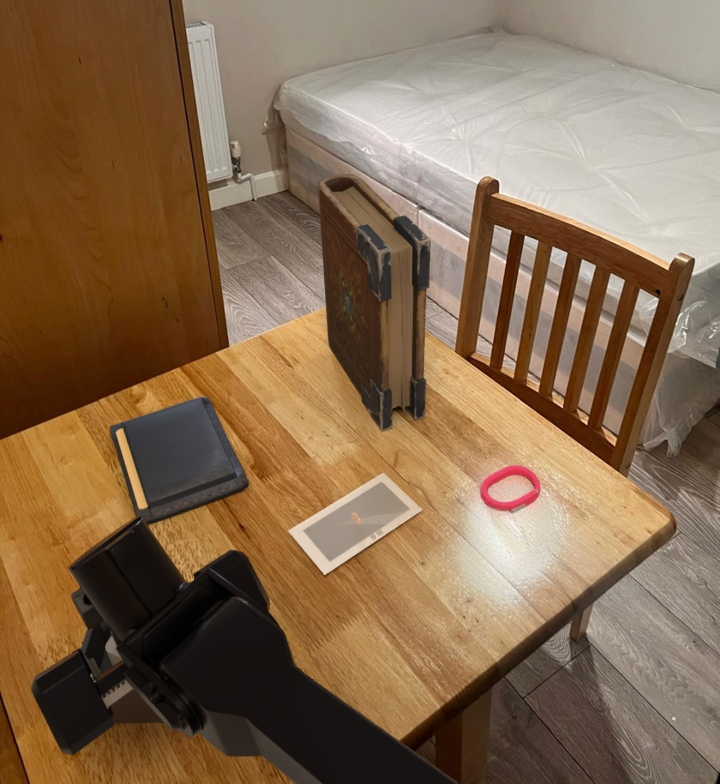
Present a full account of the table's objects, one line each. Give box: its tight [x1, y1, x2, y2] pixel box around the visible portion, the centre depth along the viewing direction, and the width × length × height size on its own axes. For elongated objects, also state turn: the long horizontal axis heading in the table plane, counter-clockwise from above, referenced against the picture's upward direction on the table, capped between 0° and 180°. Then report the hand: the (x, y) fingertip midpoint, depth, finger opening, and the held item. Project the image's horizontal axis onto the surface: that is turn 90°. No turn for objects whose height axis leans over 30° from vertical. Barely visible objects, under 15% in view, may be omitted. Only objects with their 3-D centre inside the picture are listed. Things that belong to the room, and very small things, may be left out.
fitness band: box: [480, 464, 541, 514], centre depth 94 cm, size 8×6×2 cm
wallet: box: [109, 396, 250, 526], centre depth 101 cm, size 20×2×15 cm
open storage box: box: [80, 625, 165, 724], centre depth 75 cm, size 11×11×6 cm
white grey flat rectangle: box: [287, 472, 423, 576], centre depth 90 cm, size 8×15×2 cm, turn 127°
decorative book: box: [317, 173, 432, 433], centre depth 106 cm, size 23×7×30 cm, turn 24°
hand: (141, 632), depth 67 cm, fingers open, 9 cm apart
